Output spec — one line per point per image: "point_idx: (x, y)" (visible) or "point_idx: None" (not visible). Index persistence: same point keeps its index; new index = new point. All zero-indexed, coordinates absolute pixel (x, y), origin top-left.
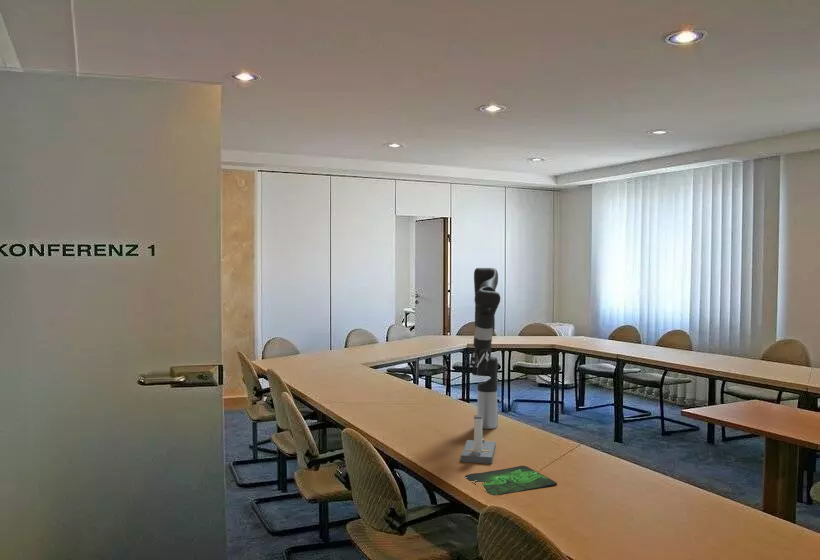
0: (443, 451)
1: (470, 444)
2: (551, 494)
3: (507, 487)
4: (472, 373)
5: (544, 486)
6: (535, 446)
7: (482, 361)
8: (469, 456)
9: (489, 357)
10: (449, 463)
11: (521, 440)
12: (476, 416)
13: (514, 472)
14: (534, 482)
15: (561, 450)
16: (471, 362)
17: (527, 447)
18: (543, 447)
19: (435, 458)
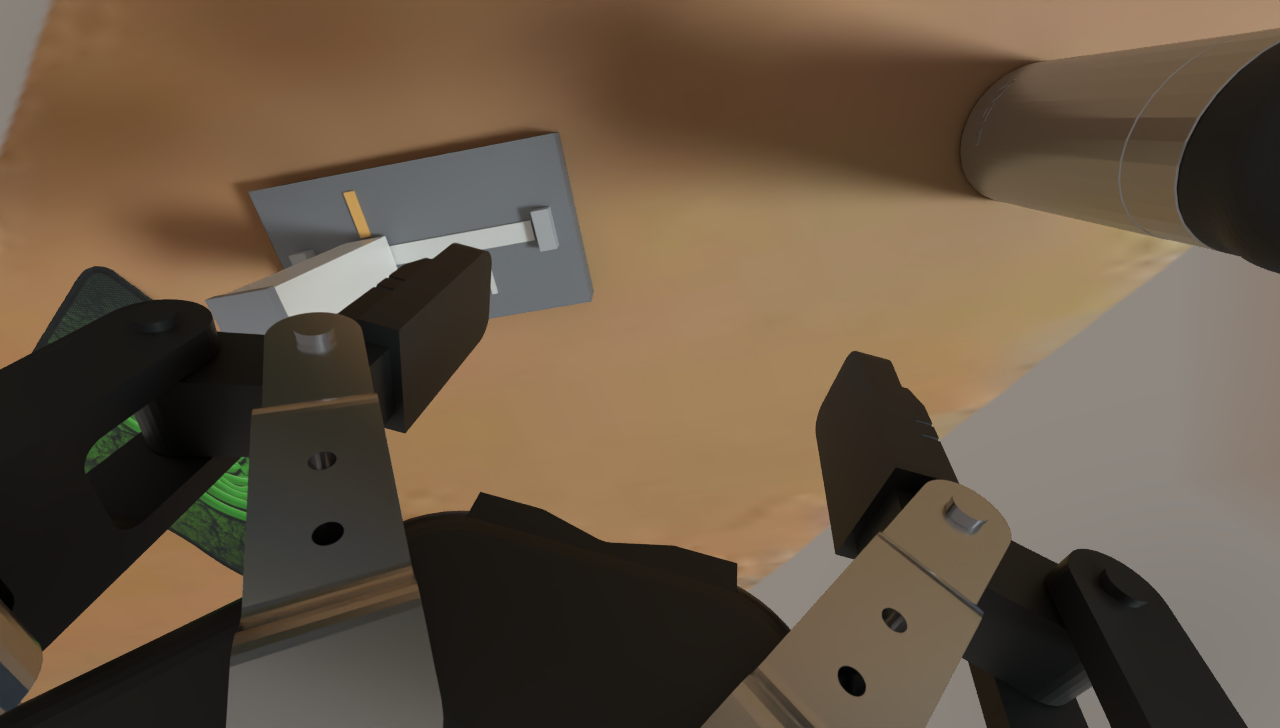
0: (382, 18)
1: (469, 182)
2: (162, 572)
3: (109, 450)
4: (422, 266)
5: (203, 550)
6: (679, 451)
7: (887, 465)
8: (271, 237)
9: (984, 689)
10: (207, 134)
11: (760, 380)
12: (235, 314)
13: None
14: (216, 520)
15: (658, 543)
16: (75, 388)
17: (651, 424)
18: (676, 481)
19: (230, 17)
